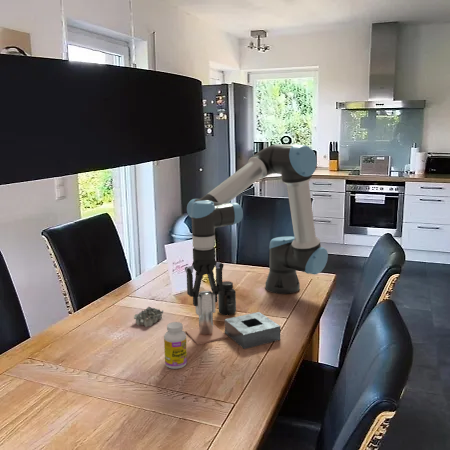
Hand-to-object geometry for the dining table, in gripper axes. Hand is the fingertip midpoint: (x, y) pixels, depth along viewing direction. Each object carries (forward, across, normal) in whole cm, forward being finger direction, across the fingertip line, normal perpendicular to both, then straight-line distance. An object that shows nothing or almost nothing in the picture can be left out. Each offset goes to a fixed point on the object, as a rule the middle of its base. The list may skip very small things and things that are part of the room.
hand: (205, 312), depth 161 cm
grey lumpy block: (+9, +14, -21) cm, 27 cm away
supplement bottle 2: (+8, -16, -14) cm, 23 cm away
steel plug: (+7, 0, 0) cm, 7 cm away
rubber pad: (+8, 0, 0) cm, 8 cm away
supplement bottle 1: (+8, +16, +14) cm, 24 cm away
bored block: (+8, -14, +8) cm, 18 cm away
